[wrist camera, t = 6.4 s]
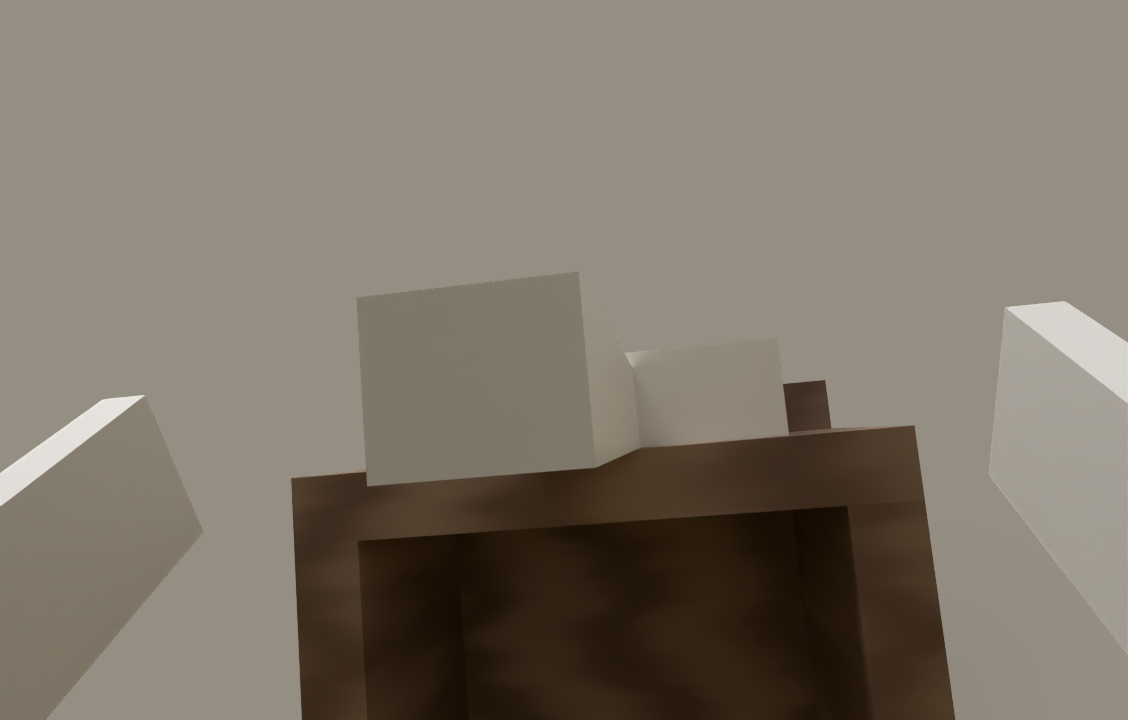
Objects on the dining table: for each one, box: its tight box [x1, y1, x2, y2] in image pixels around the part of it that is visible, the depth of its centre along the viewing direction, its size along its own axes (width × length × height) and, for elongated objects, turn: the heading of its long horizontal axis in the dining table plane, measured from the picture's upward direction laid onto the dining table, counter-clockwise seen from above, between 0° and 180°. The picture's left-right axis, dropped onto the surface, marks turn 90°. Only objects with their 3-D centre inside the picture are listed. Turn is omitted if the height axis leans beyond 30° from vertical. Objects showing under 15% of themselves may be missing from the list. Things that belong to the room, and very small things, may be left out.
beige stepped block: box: [357, 272, 789, 486], centre depth 20 cm, size 12×22×3 cm, turn 172°
